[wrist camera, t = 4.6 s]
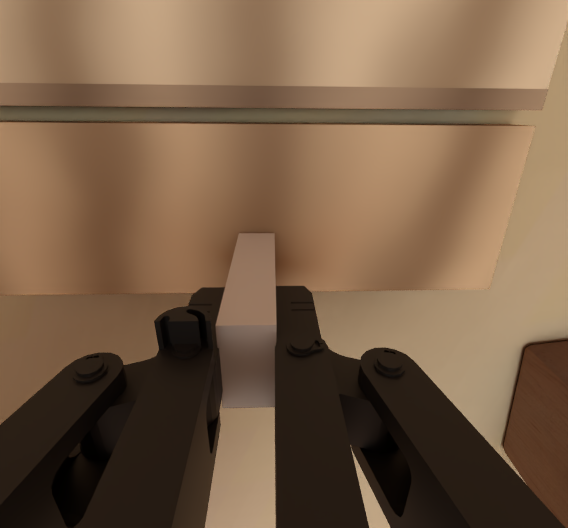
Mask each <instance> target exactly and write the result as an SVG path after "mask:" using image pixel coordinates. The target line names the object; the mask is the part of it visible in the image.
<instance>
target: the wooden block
mask: <svg viewBox="0 0 568 528" xmlns="http://www.w3.org/2000/svg"><path fill="white" fill-rule="evenodd" d="M504 451H505V453H506V454H507V456H508V457H509V459H510V460H511V462H512V463H513V465H514V466H515V468H516V469H517V471H518V472H519V474H520V475H521V477H522V478H523V480H524V481H525V483H526V484H527V486H528V487H529V488H530V489H531V490H532V491H533V492H534V493H535V495H536V496H537V497H538V498H539V499H540V500H541V501H542V502H543V503H544V504H545V506H546V507H547V508H548V509H549V510H550V511H551V512H552V513H553V514H554V515H555V517H556V518H557V519H558V520H559V521H560V522H561V523H562V524H563V525H564V526H565V528H568V341H560V342H552V343H544V344H536V345H530V346H528V347H527V348H526V349H525V351H524V356H523V360H522V365H521V369H520V374H519V378H518V383H517V387H516V392H515V396H514V401H513V405H512V410H511V414H510V419H509V423H508V428H507V432H506V437H505V441H504Z"/></svg>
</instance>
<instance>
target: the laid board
mask: <svg viewBox="0 0 568 528" xmlns="http://www.w3.org/2000/svg"><path fill="white" fill-rule="evenodd" d="M567 23H568V0H0V105H9V106H120V107H232V108H344V109H456V110H542V109H543V106H544V102H545V99H546V96H547V92H548V86H549V83H550V79H551V76H552V73H553V69H554V66H555V63H556V59H557V56H558V53H559V49H560V46H561V43H562V39H563V36H564V33H565V29H566V26H567Z"/></svg>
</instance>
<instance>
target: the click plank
mask: <svg viewBox="0 0 568 528" xmlns="http://www.w3.org/2000/svg"><path fill="white" fill-rule="evenodd" d="M535 127H536V126H526V125H511V124H376V123H237V122H98V121H0V295H69V294H147V293H196V292H197V291H198V290H199V289H200V288H202V287H225V286H226V282H227V278H228V274H229V270H230V266H231V262H232V258H233V254H234V251H235V247H236V243H237V239H238V235H239V233H275V277H276V286H305V287H306V288H307V289H308V290H309V291H381V290H459V289H489V288H490V285H491V281H492V278H493V274H494V271H495V267H496V264H497V260H498V257H499V253H500V250H501V246H502V243H503V239H504V236H505V232H506V229H507V225H508V222H509V218H510V215H511V211H512V208H513V204H514V201H515V197H516V194H517V190H518V187H519V183H520V180H521V176H522V173H523V169H524V166H525V162H526V159H527V155H528V152H529V148H530V144H531V141H532V137H533V134H534V130H535Z"/></svg>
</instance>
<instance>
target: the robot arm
mask: <svg viewBox="0 0 568 528" xmlns="http://www.w3.org/2000/svg"><path fill="white" fill-rule="evenodd" d="M154 323H155V329H156V334H157V340H158V346H159V351H158V353H157V356H156V357H154V358H151V359H148V360H145V361H141V362H137V363H132V364H128V365H123V361H122V360H121V358H120V357H119V356H118V355H115V354H112V353H95V354H91V355H87V356H84V357H82V358H80V359H77V360H75V361H74V362H72V363H71V364H70V365H68V366H67V367H65V368H64V369H63V370H62V371H61V372H60V373H58V374H57V375H56V376H55V377H54V378H53V379H52V380H51V381H49V382H48V383H47V384H46V385H45V386H44V387H43V388H41V389H40V390H39V391H38V392H37V393H36V394H35V395H34V396H32V397H31V398H30V399H29V400H28V401H27V402H26V403H25V404H23V405H22V406H21V407H20V408H19V409H18V410H17V411H15V412H14V413H13V414H12V415H11V416H10V417H9V418H8V419H6V420H5V421H4V422H3V423H2V424H1V425H0V528H205V521H206V515H207V509H208V502H209V496H210V490H211V483H212V477H213V470H214V464H215V458H216V451H217V445H218V438H219V432H220V426H221V424H220V412H219V410H220V404H221V398H222V406H223V408H252V407H275V488H276V528H369V525H368V521H367V517H366V512H365V508H364V503H363V499H362V495H361V490H360V486H359V481H358V477H357V473H356V468H355V464H354V459H353V455H352V451H353V453H354V455H355V457H356V459H357V461H358V463H359V465H360V467H361V469H362V471H363V473H364V475H365V477H366V479H367V481H368V483H369V485H370V487H371V489H372V491H373V493H374V495H375V497H376V499H377V501H378V503H379V505H380V507H381V509H382V511H383V513H384V515H385V517H386V519H387V521H388V523H389V525H390V527H391V528H565V526H564V525H563V524H562V523H561V522H560V521H559V520H558V519H557V518H556V517H555V515H554V514H553V513H552V512H551V511H550V510H549V509H548V508H547V507H546V506H545V504H544V503H543V502H542V501H541V500H540V499H539V498H538V497H537V496H536V495H535V493H534V492H533V491H532V490H531V489H530V488H529V487H528V486H527V485H526V484H525V482H524V481H523V480H522V479H521V478H520V477H519V476H518V475H517V474H516V473H515V471H514V470H513V469H512V468H511V467H510V466H509V465H508V464H507V463H506V462H505V460H504V459H503V458H502V457H501V456H500V455H499V454H498V453H497V452H496V451H495V449H494V448H493V447H492V446H491V445H490V444H489V443H488V442H487V441H486V440H485V438H484V437H483V436H482V435H481V434H480V433H479V432H478V431H477V430H476V429H475V427H474V426H473V425H472V424H471V423H470V422H469V421H468V420H467V419H466V418H465V417H464V415H463V414H462V413H461V412H460V411H459V410H458V409H457V408H456V407H455V406H454V404H453V403H452V402H451V401H450V400H449V399H448V398H447V397H446V396H445V395H444V393H443V392H442V391H441V390H440V389H439V388H438V387H437V386H436V385H435V384H434V382H433V381H432V380H431V379H430V378H429V377H428V376H427V375H426V374H425V373H424V371H423V370H422V369H421V368H420V367H419V366H418V365H417V364H416V363H415V362H414V361H413V360H412V359H411V358H410V357H408V356H407V355H406V354H404V353H402V352H399V351H397V350H394V349H389V348H374V349H371V350H368V351H366V352H365V353H364V354H363V355H362V356H361V360H358V359H353V358H349V357H345V356H342V355H339V354H337V353H335V352H333V351H331V350H330V349H329V348H328V346H327V344H326V343H325V341H324V340H323V339H321V335H320V330H319V325H318V320H317V316H316V311H315V306H314V301H313V297H312V293H311V292H310V291H309V290H308V289H307V288H306V287H305V286H276V277H275V233H239V235H238V239H237V243H236V247H235V251H234V254H233V258H232V262H231V266H230V270H229V274H228V278H227V282H226V286H225V287H202V288H200V289H199V290H198V291H197V292H196V293H194V294H193V295H192V297H191V300H190V302H189V306H186V307H178V308H175V309H171V310H168V311H166V312H165V313H163V314H161V315H159V317H158V318H157V319H156V320H155V321H154ZM350 445H351V446H350ZM351 448H352V451H351Z"/></svg>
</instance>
